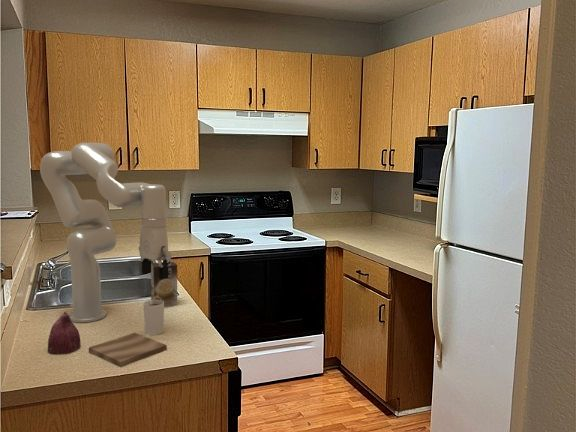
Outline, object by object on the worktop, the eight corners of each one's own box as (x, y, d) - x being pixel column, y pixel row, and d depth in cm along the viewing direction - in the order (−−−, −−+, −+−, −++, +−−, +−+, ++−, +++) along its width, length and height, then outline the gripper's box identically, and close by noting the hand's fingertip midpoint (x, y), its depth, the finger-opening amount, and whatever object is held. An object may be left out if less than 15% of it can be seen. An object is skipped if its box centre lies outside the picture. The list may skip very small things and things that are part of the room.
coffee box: (153, 308, 195) (152, 266, 193) (150, 303, 201) (150, 263, 199) (177, 305, 199) (177, 264, 196) (174, 300, 204) (174, 261, 202)
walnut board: (88, 352, 153) (88, 347, 153) (134, 337, 166) (134, 332, 165) (120, 366, 143) (120, 361, 143) (166, 349, 156) (166, 344, 156)
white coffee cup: (164, 327, 175) (163, 299, 173) (165, 334, 168) (164, 304, 167) (143, 329, 173) (143, 300, 171) (143, 336, 166) (143, 306, 165)
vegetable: (82, 359, 155) (89, 320, 151) (48, 362, 150) (54, 321, 146) (77, 341, 162) (83, 304, 159) (44, 343, 157) (50, 304, 154)
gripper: (129, 221, 167) (130, 273, 169) (159, 228, 155) (159, 283, 158) (149, 219, 172) (150, 269, 175) (179, 225, 161) (180, 279, 163)
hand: (154, 275), depth 166 cm, fingers open, 9 cm apart
